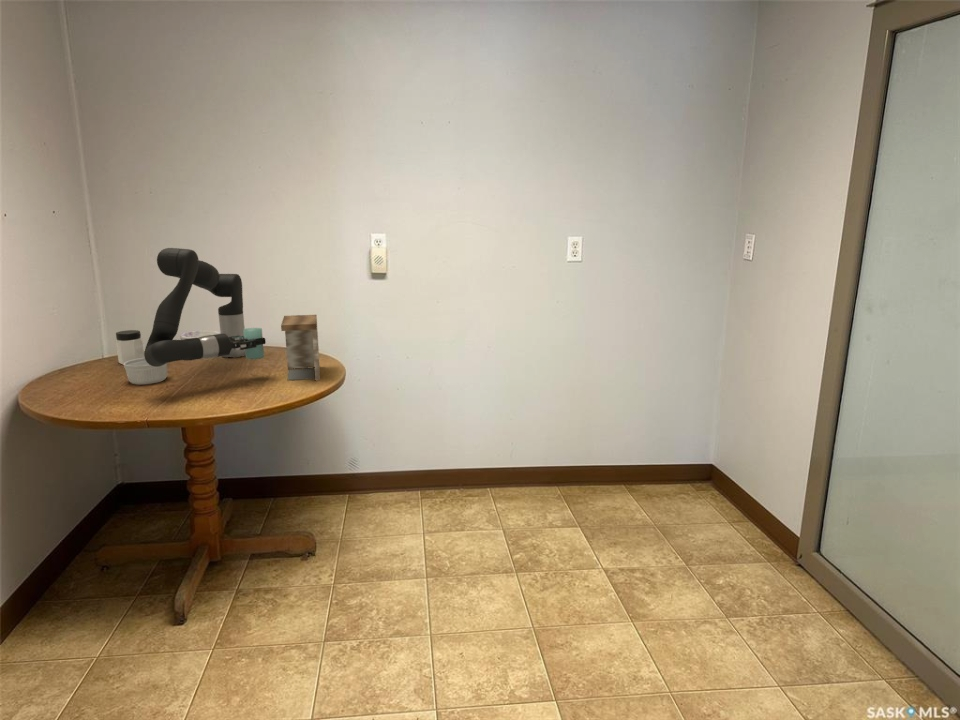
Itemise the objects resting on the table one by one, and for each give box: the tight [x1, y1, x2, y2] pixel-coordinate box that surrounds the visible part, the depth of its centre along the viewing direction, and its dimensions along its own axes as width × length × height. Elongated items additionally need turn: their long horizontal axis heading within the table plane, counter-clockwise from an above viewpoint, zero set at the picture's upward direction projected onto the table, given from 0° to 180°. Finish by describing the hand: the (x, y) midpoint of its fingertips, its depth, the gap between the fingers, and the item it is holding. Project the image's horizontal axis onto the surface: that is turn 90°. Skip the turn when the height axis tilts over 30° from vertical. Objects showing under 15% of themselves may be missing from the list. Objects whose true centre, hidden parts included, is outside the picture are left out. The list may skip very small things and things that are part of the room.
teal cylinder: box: [244, 327, 265, 360], centre depth 205 cm, size 6×6×10 cm
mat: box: [286, 368, 315, 381], centre depth 212 cm, size 9×14×1 cm, turn 15°
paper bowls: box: [179, 330, 220, 340], centre depth 245 cm, size 15×15×8 cm
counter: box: [280, 314, 321, 381], centre depth 211 cm, size 12×20×20 cm, turn 15°
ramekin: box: [123, 358, 168, 386], centre depth 203 cm, size 13×13×7 cm
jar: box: [115, 329, 145, 366], centre depth 227 cm, size 9×8×12 cm
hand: (260, 339), depth 206 cm, fingers closed on teal cylinder, 6 cm apart
